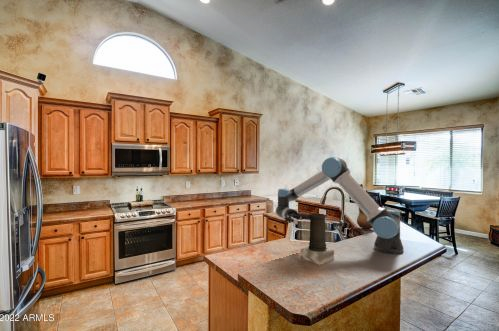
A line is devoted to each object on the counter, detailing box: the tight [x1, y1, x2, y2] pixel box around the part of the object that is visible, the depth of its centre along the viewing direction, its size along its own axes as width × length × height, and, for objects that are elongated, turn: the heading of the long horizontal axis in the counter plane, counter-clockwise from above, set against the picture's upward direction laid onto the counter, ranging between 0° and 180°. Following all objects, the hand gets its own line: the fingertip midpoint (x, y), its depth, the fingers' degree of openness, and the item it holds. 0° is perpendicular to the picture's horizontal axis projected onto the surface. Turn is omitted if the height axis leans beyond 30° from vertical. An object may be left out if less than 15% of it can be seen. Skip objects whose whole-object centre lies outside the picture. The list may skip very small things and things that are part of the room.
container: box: [308, 212, 327, 252], centre depth 133 cm, size 9×9×18 cm
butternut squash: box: [356, 198, 375, 230], centre depth 198 cm, size 14×13×25 cm
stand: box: [300, 246, 335, 266], centre depth 133 cm, size 12×12×5 cm
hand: (307, 221), depth 142 cm, fingers open, 13 cm apart
